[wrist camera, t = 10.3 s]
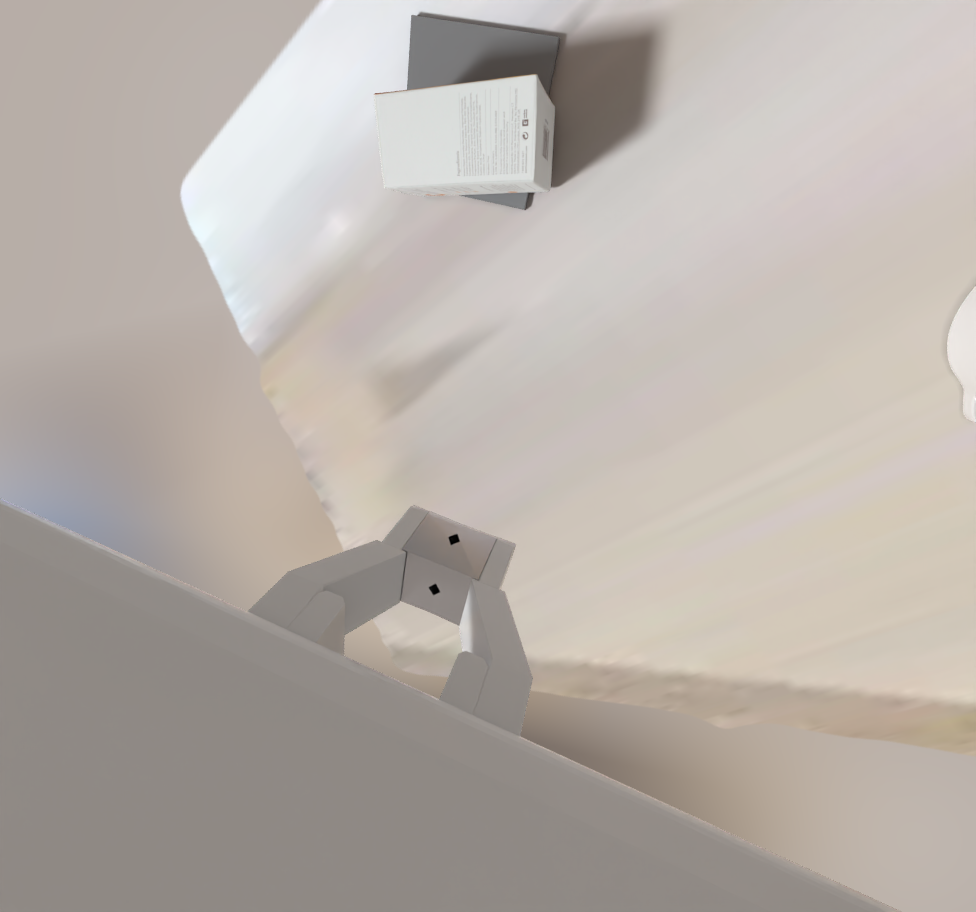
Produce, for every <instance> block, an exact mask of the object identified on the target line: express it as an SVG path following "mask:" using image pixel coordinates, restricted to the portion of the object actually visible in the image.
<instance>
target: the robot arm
mask: <svg viewBox="0 0 976 912" xmlns="http://www.w3.org/2000/svg"><path fill="white" fill-rule="evenodd" d="M947 354H948V360H949V364H950V366H951V369H952V371H953V372H954V374H955V376H956V377H957V379H958V380H959V382H960V383H961V385H962V387H963V390H964V396H963V413H964V416H965V417H966V418H967V419H968V420H970V421H972V422H975V423H976V286H975V287H974V288H973V290H972V291H971V292H970V293H969V295H968V296H967V297H966V299H965V300H964V302H963V303H962V305H961V306H960V308H959V310H958V311H957V313H956V315H955V317H954V320H953V322H952V325H951V328H950V331H949V335H948V341H947ZM515 547H516V544H515V543H512V542H510V541H507V540H504V539H501V538H499V537H495V536H493V535H490V534H487V533H485V532H482V531H479V530H477V529H474V528H471V527H468V526H466V525H463V524H460V523H458V522H455V521H453V520H451V519H448V518H446V517H443V516H441V515H438V514H436V513H433V512H430V511H427V510H425V509H423V508H420V507H418V506H415V505H413V506H412V507H410V508H409V509H408V510H407V511H406V513H405V514H404V515H403V516H402V518H401V519H400V520H399V521H398V523H397V524H396V525H395V526H394V527H393V529H392V530H391V531H390V532H389V534H388V535H387V536H386V537H385V538H384V540H383V541H382V542H380V541H378V540H376V541H373V542H370V543H367V544H364V545H362V546H359V547H356V548H353V549H350V550H348V551H345V552H342V553H339V554H336V555H334V556H331V557H328V558H325V559H322V560H320V561H317V562H314V563H311V564H308V565H305V566H303V567H300V568H297V569H294V570H291V571H289V572H287V573H286V574H285V575H284V576H283V577H282V578H281V579H280V580H279V581H278V582H277V583H276V584H275V585H274V586H273V587H272V588H271V589H270V590H269V591H268V592H267V593H266V594H265V595H264V596H263V597H262V598H261V599H260V600H259V601H258V602H257V603H256V604H255V605H254V606H253V607H252V608H251V609H249V610H248V611H245V610H243V609H241V608H239V607H237V606H234V605H232V604H230V603H228V602H226V601H223V600H221V599H219V598H217V597H215V596H213V595H210V594H208V593H206V592H204V591H202V590H200V589H197V588H195V587H193V586H191V585H188V584H186V583H184V582H182V581H180V580H178V579H175V578H173V577H171V576H169V575H167V574H165V573H163V572H160V571H158V570H156V569H154V568H151V567H149V566H147V565H145V564H143V563H141V562H138V561H136V560H134V559H132V558H130V557H128V556H125V555H123V554H121V553H119V552H117V551H114V550H112V549H110V548H108V547H106V546H104V545H102V544H99V543H97V542H95V541H93V540H90V539H89V538H86V537H84V536H82V535H80V534H78V533H75V532H73V531H71V530H69V529H67V528H65V527H63V526H60V525H58V524H56V523H54V522H52V521H49V520H47V519H45V518H43V517H41V516H39V515H36V514H34V513H32V512H30V511H28V510H26V509H23V508H21V507H19V506H17V505H15V504H13V503H10V502H8V501H6V500H4V499H2V498H0V912H901V911H899V910H897V909H895V908H893V907H890V906H888V905H886V904H884V903H882V902H879V901H877V900H875V899H873V898H871V897H869V896H866V895H864V894H862V893H860V892H858V891H855V890H853V889H851V888H849V887H847V886H845V885H842V884H840V883H838V882H836V881H834V880H831V879H829V878H827V877H825V876H823V875H821V874H818V873H816V872H814V871H812V870H810V869H807V868H805V867H803V866H801V865H799V864H797V863H794V862H792V861H790V860H788V859H786V858H783V857H781V856H779V855H777V854H775V853H773V852H770V851H768V850H766V849H764V848H762V847H760V846H757V845H755V844H753V843H751V842H748V841H746V840H744V839H742V838H740V837H738V836H736V835H733V834H731V833H729V832H727V831H725V830H723V829H720V828H718V827H716V826H714V825H711V824H709V823H707V822H705V821H703V820H701V819H699V818H696V817H694V816H692V815H690V814H688V813H685V812H683V811H681V810H679V809H677V808H674V807H672V806H670V805H668V804H666V803H664V802H662V801H659V800H657V799H655V798H653V797H651V796H648V795H646V794H644V793H642V792H640V791H638V790H635V789H633V788H631V787H629V786H627V785H624V784H622V783H620V782H618V781H616V780H614V779H611V778H609V777H607V776H605V775H603V774H600V773H598V772H596V771H594V770H592V769H590V768H587V767H585V766H583V765H581V764H579V763H577V762H574V761H572V760H570V759H568V758H566V757H564V756H561V755H559V754H557V753H555V752H552V751H550V750H548V749H546V748H544V747H541V746H539V745H537V744H535V743H533V742H531V741H529V740H526V739H524V738H522V737H520V734H521V729H522V725H523V720H524V716H525V711H526V706H527V702H528V698H529V693H530V689H531V684H532V679H533V678H532V674H531V671H530V668H529V665H528V662H527V659H526V656H525V653H524V650H523V646H522V643H521V640H520V637H519V634H518V631H517V628H516V625H515V622H514V618H513V615H512V612H511V609H510V606H509V603H508V600H507V597H506V594H505V592H504V591H502V590H501V588H502V585H503V582H504V579H505V576H506V573H507V570H508V567H509V564H510V561H511V558H512V555H513V553H514V550H515ZM400 601H402V602H405V603H407V604H410V605H413V606H415V607H418V608H420V609H423V610H425V611H428V612H430V613H433V614H435V615H437V616H439V617H441V618H444V619H446V620H448V621H450V622H452V623H454V624H457V625H459V630H460V638H461V645H462V653H459V654H458V657H457V659H456V661H455V664H454V666H453V668H452V671H451V673H450V675H449V678H448V680H447V682H446V685H445V687H444V689H443V692H442V694H441V696H440V699H437V698H435V697H433V696H431V695H428V694H426V693H424V692H422V691H420V690H417V689H415V688H413V687H411V686H409V685H407V684H404V683H402V682H400V681H398V680H396V679H393V678H391V677H389V676H387V675H385V674H383V673H380V672H378V671H376V670H374V669H371V668H369V667H367V666H365V665H363V664H361V663H359V662H356V661H354V660H352V659H350V658H348V657H345V656H344V635H346V634H348V633H349V632H351V631H353V630H354V629H356V628H357V627H359V626H361V625H362V624H364V623H366V622H368V621H369V620H371V619H373V618H374V617H376V616H378V615H379V614H381V613H383V612H385V611H386V610H388V609H390V608H391V607H393V606H395V605H396V604H398V603H400Z"/></svg>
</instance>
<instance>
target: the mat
mask: <svg viewBox="0 0 976 912" xmlns="http://www.w3.org/2000/svg"><path fill="white" fill-rule="evenodd" d="M559 42H560V38H559V37H557V36H551V35H544V34H537V33H530V32H524V31H517V30H510V29H503V28H496V27H490V26H483V25H476V24H469V23H462V22H456V21H449V20H442V19H435V18H429V17H422V16H415V15H412V16H411V33H410V50H409V67H408V84H407V90H411V89H419V88H427V87H435V86H442V85H450V84H459V83H468V82H476V81H484V80H492V79H498V78H506V77H514V76H522V75H531V74H537V75H538V78H539V80H540V82H541V84H542V86H543V88H544V90H545V91H546V93H547V95H548V97H549V92H550V87H551V82H552V77H553V72H554V67H555V62H556V57H557V52H558V47H559ZM460 196H465V197H469V198H474V199H478V200H483V201H487V202H492V203H496V204H501V205H505V206H510V207H514V208H519V209H523V210H526V205H527V201H528V196H529V192H527V193H499V194H477V195H460Z"/></svg>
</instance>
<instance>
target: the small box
mask: <svg viewBox="0 0 976 912" xmlns="http://www.w3.org/2000/svg"><path fill="white" fill-rule="evenodd" d="M374 102H375V113H376V123H377V133H378V142H379V151H380V160H381V168H382V176H383V182H384V188H385V189H389V190H393V191H397V192H401V193H404V194H411V195H418V196H448V195H477V194H499V193H527V192H549V191H550V189H551V176H552V158H553V137H554V121H555V106H554V105H553V104H552V102H551V100H550V99H549V97H548V95H547V93H546V91H545V90H544V88H543V86H542V84H541V82H540V80H539V78H538V75H537V74H531V75H522V76H514V77H506V78H498V79H492V80H484V81H476V82H468V83H459V84H450V85H442V86H435V87H427V88H419V89H411V90H403V91H395V92H385V93H375V94H374Z"/></svg>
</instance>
